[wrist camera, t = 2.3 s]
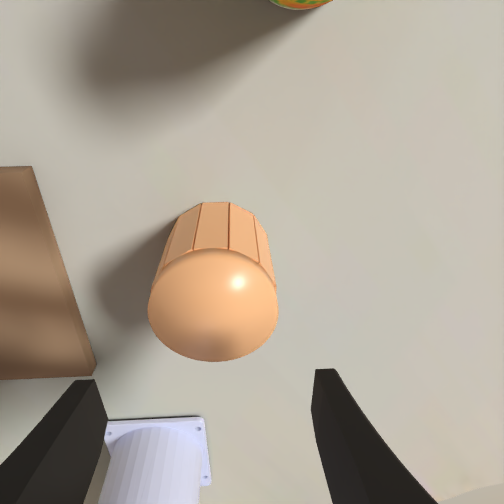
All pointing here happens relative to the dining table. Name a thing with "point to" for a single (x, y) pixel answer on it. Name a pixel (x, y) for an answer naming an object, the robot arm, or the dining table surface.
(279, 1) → the supplement bottle
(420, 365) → the dining table surface
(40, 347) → the post block
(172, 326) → the wire nut cap
